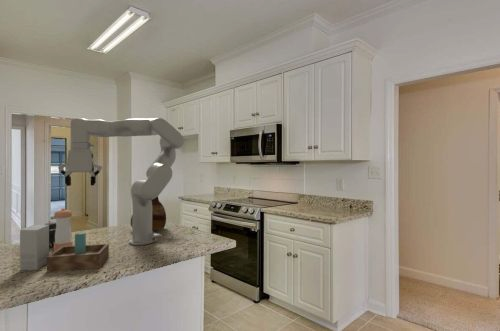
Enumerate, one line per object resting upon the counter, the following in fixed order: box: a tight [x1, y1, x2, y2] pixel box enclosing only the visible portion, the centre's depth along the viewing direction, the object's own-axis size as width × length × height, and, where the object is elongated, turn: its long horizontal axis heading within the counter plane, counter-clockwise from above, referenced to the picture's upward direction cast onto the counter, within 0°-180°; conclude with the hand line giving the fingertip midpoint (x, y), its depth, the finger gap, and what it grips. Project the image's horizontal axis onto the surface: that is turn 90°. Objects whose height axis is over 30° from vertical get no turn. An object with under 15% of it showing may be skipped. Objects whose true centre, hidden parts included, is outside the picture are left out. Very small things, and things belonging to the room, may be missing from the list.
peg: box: [74, 232, 87, 254], centre depth 118 cm, size 4×4×12 cm
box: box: [46, 243, 110, 273], centre depth 118 cm, size 18×14×6 cm
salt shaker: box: [53, 208, 74, 252], centre depth 136 cm, size 7×7×19 cm
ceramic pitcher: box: [130, 195, 167, 232], centre depth 175 cm, size 20×20×30 cm
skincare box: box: [19, 224, 50, 271], centre depth 114 cm, size 8×7×16 cm
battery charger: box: [43, 221, 56, 249], centre depth 141 cm, size 7×4×11 cm, turn 140°
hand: (80, 185), depth 130 cm, fingers open, 9 cm apart
